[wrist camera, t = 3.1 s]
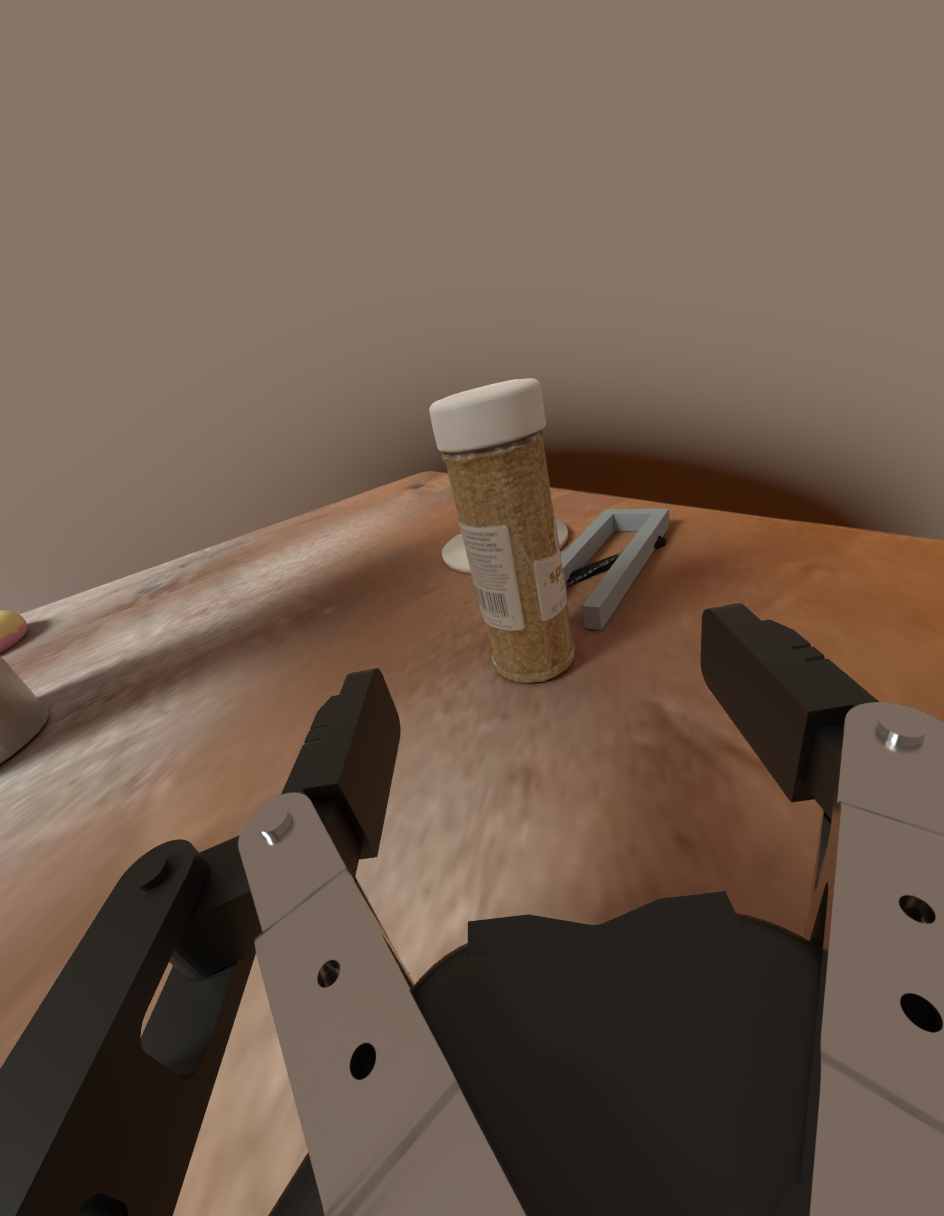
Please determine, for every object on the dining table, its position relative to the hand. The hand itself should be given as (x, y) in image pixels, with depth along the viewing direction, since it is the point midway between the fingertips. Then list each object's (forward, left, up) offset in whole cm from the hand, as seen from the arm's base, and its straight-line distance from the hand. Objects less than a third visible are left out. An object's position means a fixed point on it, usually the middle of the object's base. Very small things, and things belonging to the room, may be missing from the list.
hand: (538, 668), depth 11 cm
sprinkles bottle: (-6, +9, -8) cm, 13 cm away
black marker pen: (-6, +19, -8) cm, 22 cm away
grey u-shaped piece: (-6, +19, -8) cm, 22 cm away
